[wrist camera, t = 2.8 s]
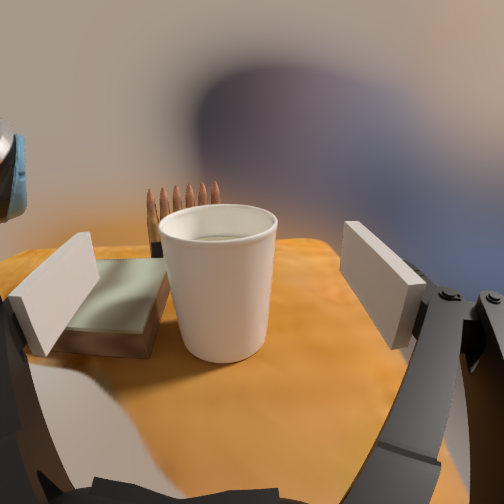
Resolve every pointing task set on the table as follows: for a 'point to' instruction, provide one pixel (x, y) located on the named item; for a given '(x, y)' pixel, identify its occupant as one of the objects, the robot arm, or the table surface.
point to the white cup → (220, 277)
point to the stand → (119, 310)
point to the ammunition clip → (177, 205)
